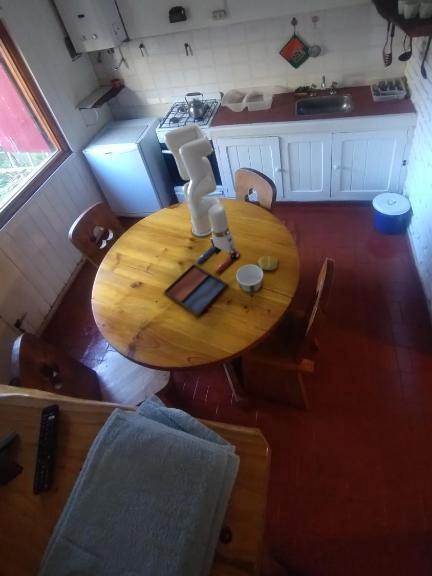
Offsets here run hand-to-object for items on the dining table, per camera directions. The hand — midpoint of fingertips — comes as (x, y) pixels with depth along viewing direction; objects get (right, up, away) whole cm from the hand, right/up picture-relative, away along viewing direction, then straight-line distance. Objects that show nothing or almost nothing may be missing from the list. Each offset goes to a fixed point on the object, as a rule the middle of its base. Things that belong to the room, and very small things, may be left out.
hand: (226, 256), depth 166 cm
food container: (+11, -11, -8) cm, 18 cm away
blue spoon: (-9, -1, +10) cm, 14 cm away
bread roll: (+20, -4, -1) cm, 21 cm away
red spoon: (+1, -4, +4) cm, 6 cm away
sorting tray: (-14, -15, -6) cm, 21 cm away
